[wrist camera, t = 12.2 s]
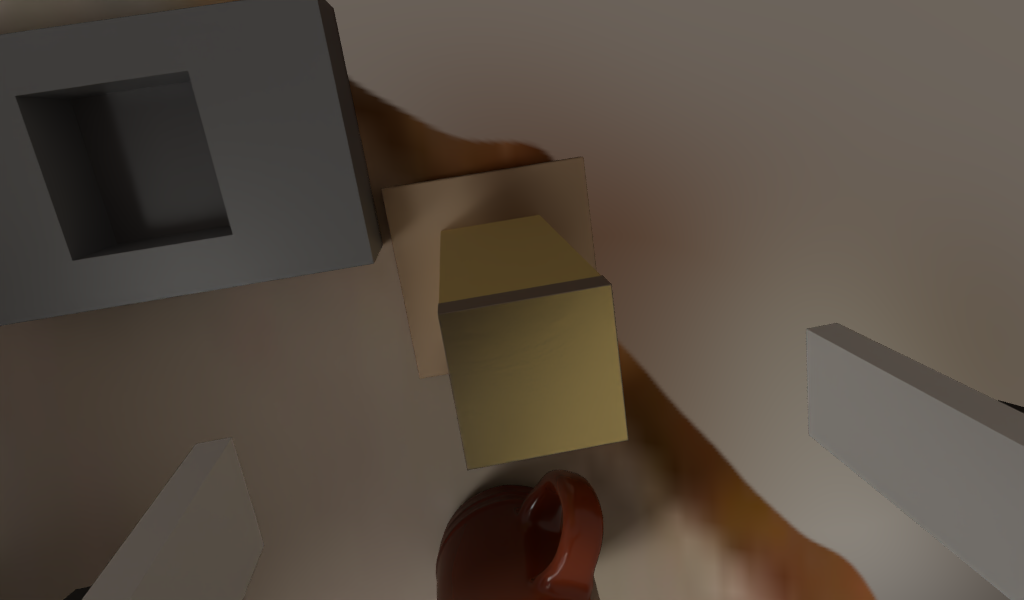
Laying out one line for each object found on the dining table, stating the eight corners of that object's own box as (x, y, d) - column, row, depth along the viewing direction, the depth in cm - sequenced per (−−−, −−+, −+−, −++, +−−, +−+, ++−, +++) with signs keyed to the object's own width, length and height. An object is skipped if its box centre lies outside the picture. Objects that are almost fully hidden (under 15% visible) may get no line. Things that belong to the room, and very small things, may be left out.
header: (21, 304, 29) (-44, 333, 25) (-69, 66, 26) (-159, 56, 22) (382, 244, 29) (373, 263, 26) (333, 8, 27) (315, -10, 23)
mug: (559, 619, 36) (602, 806, 26) (405, 590, 34) (390, 777, 25) (632, 428, 33) (711, 558, 23) (469, 388, 32) (480, 508, 22)
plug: (457, 325, 30) (467, 470, 18) (440, 230, 29) (437, 314, 16) (553, 309, 30) (628, 440, 18) (539, 214, 29) (611, 284, 17)
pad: (420, 373, 31) (419, 378, 31) (382, 188, 29) (381, 189, 28) (602, 341, 32) (605, 346, 31) (580, 156, 29) (583, 157, 29)
